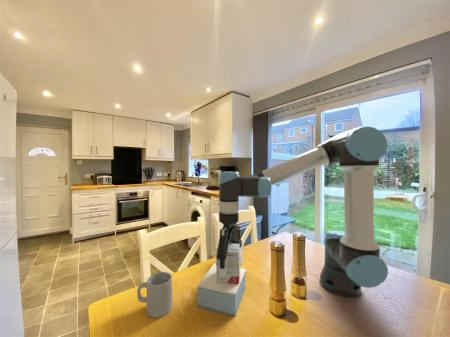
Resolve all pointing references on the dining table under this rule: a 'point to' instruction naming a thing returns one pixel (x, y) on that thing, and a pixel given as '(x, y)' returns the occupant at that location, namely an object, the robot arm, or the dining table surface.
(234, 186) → the robot arm
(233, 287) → the lid
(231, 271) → the ink box
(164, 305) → the mug
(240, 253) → the jar
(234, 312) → the blue lidded box
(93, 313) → the dining table surface
